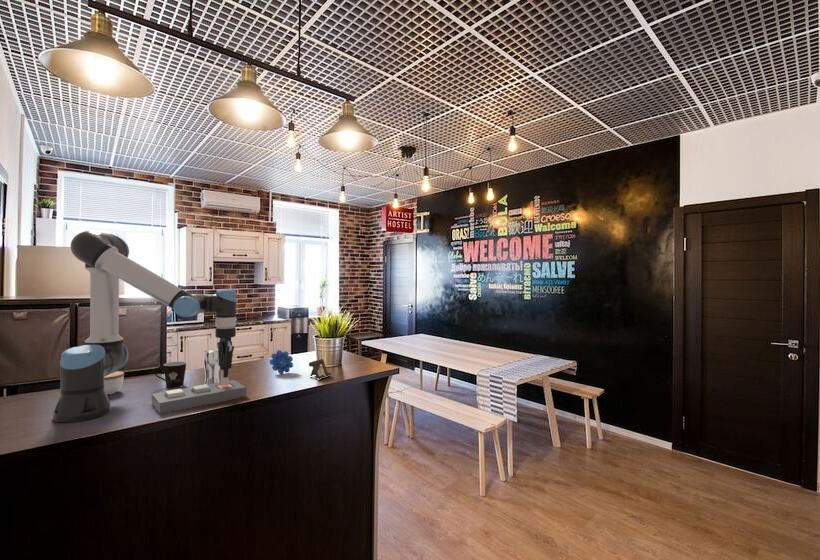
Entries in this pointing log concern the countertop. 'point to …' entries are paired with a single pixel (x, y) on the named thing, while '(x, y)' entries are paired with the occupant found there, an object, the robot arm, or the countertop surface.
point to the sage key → (200, 388)
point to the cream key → (174, 393)
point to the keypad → (197, 397)
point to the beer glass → (211, 366)
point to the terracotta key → (224, 386)
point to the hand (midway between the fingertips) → (224, 384)
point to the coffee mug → (173, 374)
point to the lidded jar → (113, 382)
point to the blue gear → (281, 361)
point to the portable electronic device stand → (316, 367)
